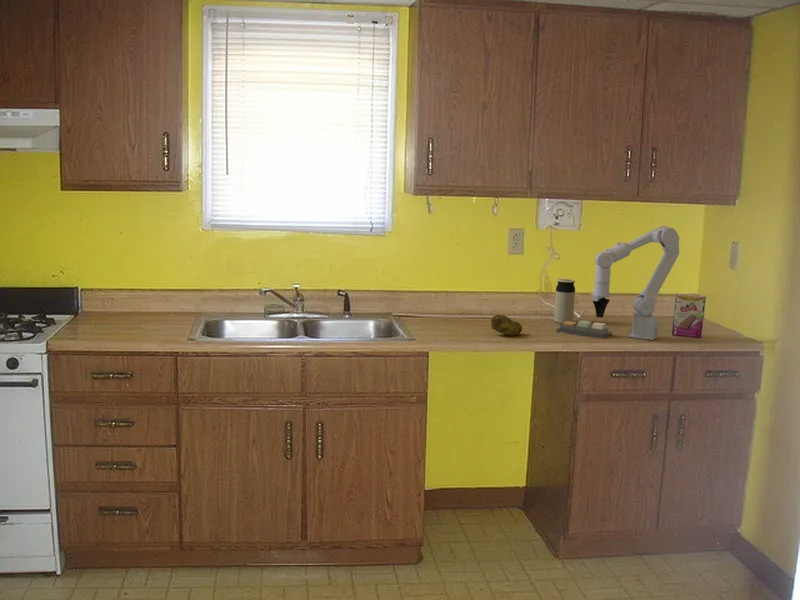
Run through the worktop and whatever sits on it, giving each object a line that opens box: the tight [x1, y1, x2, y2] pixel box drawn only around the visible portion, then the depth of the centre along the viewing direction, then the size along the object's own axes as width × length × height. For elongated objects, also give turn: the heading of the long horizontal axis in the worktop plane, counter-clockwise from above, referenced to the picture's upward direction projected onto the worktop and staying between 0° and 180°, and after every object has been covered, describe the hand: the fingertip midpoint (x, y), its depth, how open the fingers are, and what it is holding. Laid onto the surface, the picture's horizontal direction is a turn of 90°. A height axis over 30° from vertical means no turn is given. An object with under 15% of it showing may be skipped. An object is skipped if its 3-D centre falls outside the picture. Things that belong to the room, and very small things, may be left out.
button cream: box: [592, 322, 607, 329], centre depth 323 cm, size 4×4×2 cm
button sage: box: [577, 320, 592, 327], centre depth 326 cm, size 4×4×2 cm
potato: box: [490, 314, 523, 337], centre depth 318 cm, size 8×13×8 cm, turn 95°
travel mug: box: [553, 278, 576, 324], centre depth 348 cm, size 8×8×18 cm
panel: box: [556, 322, 612, 339], centre depth 326 cm, size 19×10×3 cm, turn 58°
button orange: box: [563, 321, 578, 326], centre depth 329 cm, size 4×4×2 cm
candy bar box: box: [671, 293, 707, 339], centre depth 327 cm, size 11×5×16 cm, turn 66°
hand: (599, 317), depth 322 cm, fingers closed
